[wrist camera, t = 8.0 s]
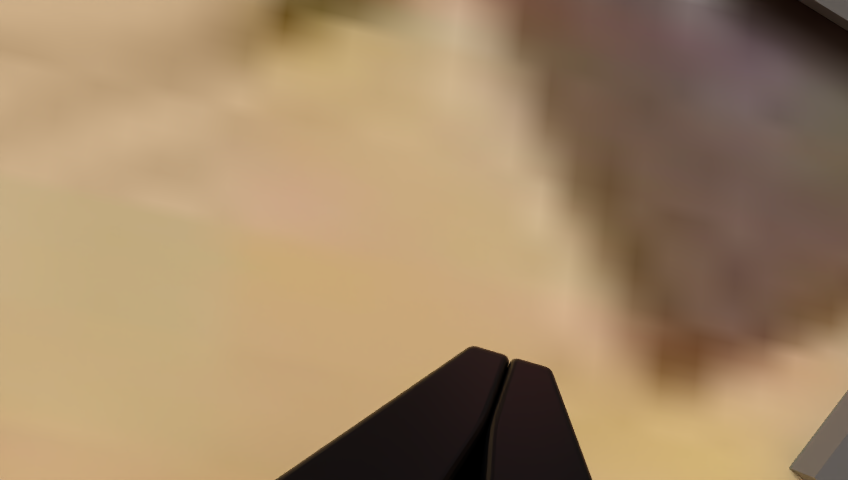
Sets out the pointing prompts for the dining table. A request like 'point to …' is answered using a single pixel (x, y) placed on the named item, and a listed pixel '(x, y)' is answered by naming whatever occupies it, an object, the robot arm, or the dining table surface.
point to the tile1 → (831, 10)
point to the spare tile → (826, 448)
